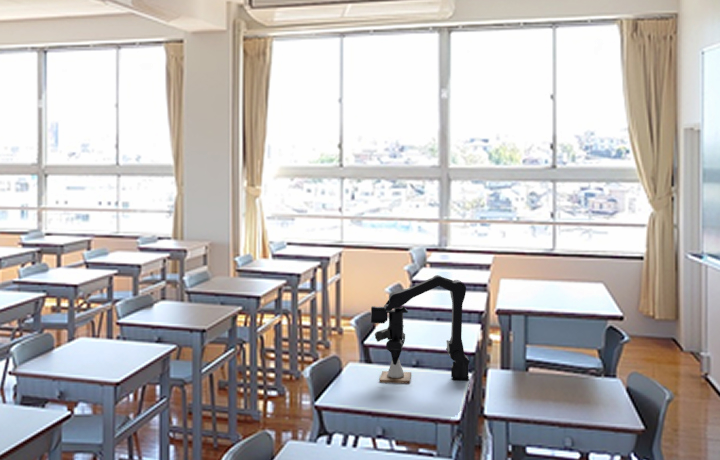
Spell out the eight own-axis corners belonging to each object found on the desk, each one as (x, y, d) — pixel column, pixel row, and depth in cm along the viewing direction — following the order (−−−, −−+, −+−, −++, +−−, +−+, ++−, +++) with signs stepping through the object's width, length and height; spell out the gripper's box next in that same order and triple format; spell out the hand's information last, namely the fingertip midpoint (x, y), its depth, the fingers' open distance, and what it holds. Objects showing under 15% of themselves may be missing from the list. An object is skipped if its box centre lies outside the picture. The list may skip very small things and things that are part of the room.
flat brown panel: (411, 376, 268) (411, 372, 268) (409, 385, 256) (409, 380, 256) (382, 375, 270) (382, 371, 270) (379, 384, 258) (379, 379, 258)
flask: (383, 377, 261) (383, 352, 260) (390, 372, 268) (390, 348, 267) (400, 379, 258) (400, 354, 257) (407, 374, 265) (407, 350, 264)
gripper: (378, 318, 272) (378, 354, 273) (373, 327, 253) (373, 367, 254) (405, 318, 270) (405, 355, 271) (401, 328, 252) (401, 368, 253)
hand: (395, 361), depth 263 cm, fingers open, 9 cm apart
